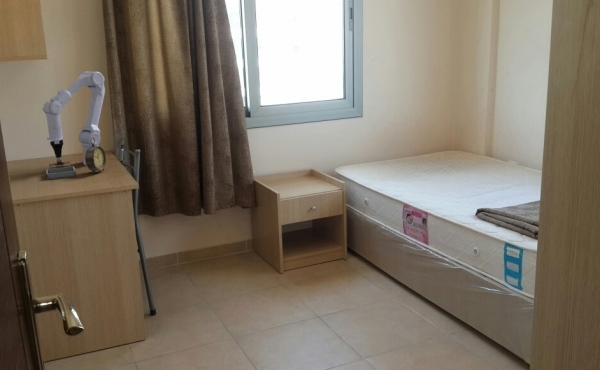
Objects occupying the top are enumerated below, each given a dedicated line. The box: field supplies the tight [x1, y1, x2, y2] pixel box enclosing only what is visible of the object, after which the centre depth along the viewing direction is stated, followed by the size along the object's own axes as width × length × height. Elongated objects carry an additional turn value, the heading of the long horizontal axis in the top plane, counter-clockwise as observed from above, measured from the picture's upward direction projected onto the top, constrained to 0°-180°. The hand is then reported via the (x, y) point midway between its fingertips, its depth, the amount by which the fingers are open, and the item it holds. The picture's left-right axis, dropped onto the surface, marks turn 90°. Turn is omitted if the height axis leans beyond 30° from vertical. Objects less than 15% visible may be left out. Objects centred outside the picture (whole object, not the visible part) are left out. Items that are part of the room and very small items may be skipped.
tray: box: [45, 165, 77, 181], centre depth 282 cm, size 11×12×2 cm
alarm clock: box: [85, 137, 107, 175], centre depth 285 cm, size 11×5×16 cm, turn 168°
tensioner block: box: [48, 160, 71, 169], centre depth 293 cm, size 9×9×3 cm
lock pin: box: [55, 156, 63, 165], centre depth 291 cm, size 3×3×9 cm
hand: (58, 156), depth 291 cm, fingers closed on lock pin, 3 cm apart
